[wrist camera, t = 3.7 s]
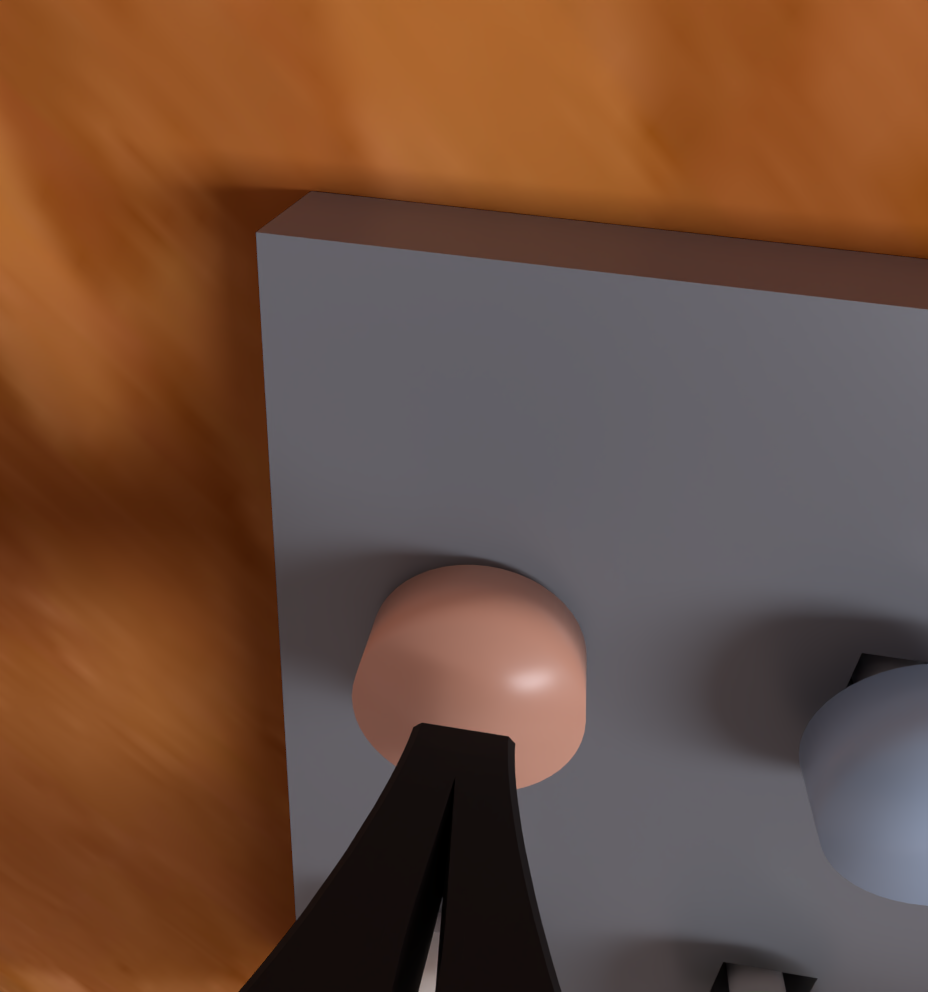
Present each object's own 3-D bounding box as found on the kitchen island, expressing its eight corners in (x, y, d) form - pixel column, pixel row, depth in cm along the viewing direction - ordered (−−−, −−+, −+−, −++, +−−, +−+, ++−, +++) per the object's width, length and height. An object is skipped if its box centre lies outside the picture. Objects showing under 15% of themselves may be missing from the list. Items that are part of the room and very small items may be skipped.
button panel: (1263, 296, 12) (1406, 364, 10) (807, 1044, 24) (827, 1147, 22) (311, 190, 13) (255, 231, 11) (328, 958, 25) (303, 1049, 23)
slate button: (1032, 588, 14) (1158, 763, 10) (946, 738, 15) (1032, 924, 12) (807, 556, 14) (866, 718, 11) (751, 708, 16) (787, 883, 13)
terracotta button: (602, 506, 15) (604, 643, 12) (572, 656, 17) (567, 808, 14) (401, 478, 15) (352, 606, 12) (395, 630, 17) (351, 773, 14)
